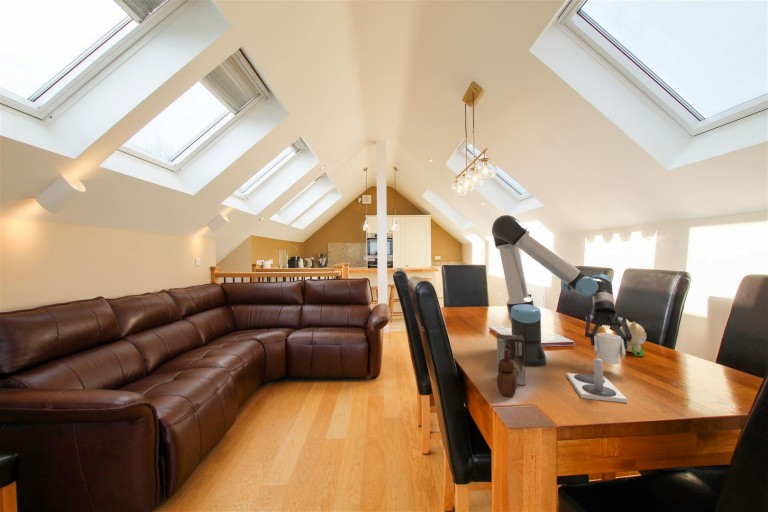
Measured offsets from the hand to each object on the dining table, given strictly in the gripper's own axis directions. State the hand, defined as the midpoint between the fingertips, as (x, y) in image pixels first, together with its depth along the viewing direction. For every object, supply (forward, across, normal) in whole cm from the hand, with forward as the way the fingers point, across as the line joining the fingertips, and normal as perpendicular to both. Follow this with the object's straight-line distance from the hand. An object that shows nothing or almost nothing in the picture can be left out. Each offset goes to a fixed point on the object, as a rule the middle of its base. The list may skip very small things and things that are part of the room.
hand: (609, 354), depth 117 cm
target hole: (+13, +8, +4) cm, 16 cm away
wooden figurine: (+31, +32, +18) cm, 48 cm away
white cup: (0, 0, -5) cm, 5 cm away
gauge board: (+18, +7, +6) cm, 20 cm away
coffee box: (+22, +32, +10) cm, 40 cm away
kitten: (-22, -14, -32) cm, 41 cm away
